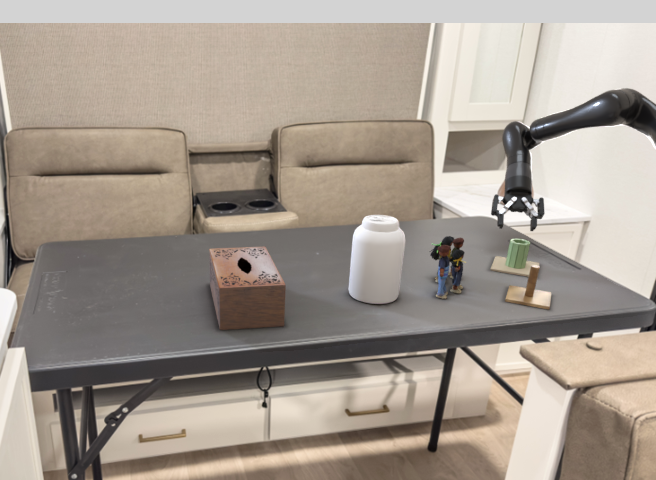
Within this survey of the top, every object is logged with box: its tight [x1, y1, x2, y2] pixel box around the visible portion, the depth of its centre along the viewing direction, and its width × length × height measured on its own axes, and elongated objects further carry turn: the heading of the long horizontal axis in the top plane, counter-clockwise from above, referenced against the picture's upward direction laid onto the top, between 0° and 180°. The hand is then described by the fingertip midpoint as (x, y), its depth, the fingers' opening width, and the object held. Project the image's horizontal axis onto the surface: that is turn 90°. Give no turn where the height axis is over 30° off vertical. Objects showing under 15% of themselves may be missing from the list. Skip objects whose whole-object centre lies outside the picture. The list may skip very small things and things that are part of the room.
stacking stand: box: [504, 265, 552, 311], centre depth 144 cm, size 10×10×9 cm
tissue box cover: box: [208, 246, 287, 331], centre depth 138 cm, size 26×14×10 cm, turn 9°
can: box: [348, 214, 406, 305], centre depth 142 cm, size 12×12×20 cm
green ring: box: [505, 238, 531, 269], centre depth 164 cm, size 5×5×7 cm
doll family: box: [429, 235, 467, 300], centre depth 150 cm, size 23×9×13 cm, turn 170°
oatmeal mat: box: [489, 255, 541, 278], centre depth 166 cm, size 12×12×1 cm
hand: (516, 228), depth 169 cm, fingers open, 8 cm apart
